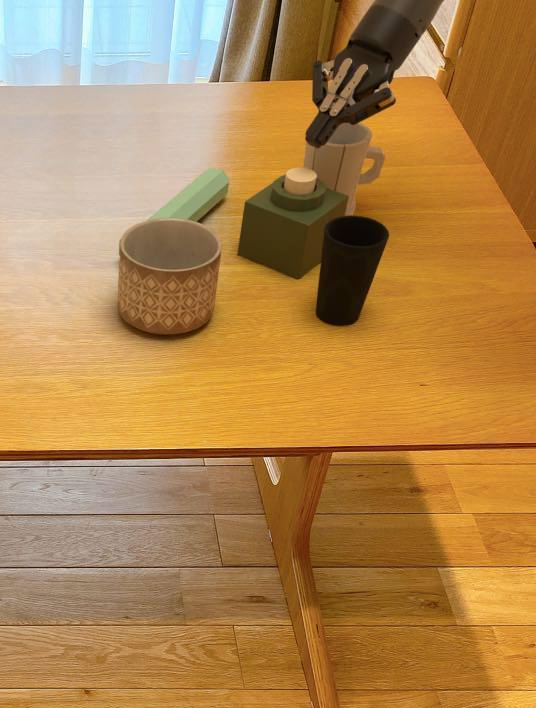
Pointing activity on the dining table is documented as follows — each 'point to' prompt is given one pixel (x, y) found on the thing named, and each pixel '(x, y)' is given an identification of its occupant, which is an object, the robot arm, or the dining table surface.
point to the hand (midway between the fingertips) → (311, 144)
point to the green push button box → (288, 226)
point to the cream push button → (300, 181)
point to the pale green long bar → (196, 197)
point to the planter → (168, 275)
